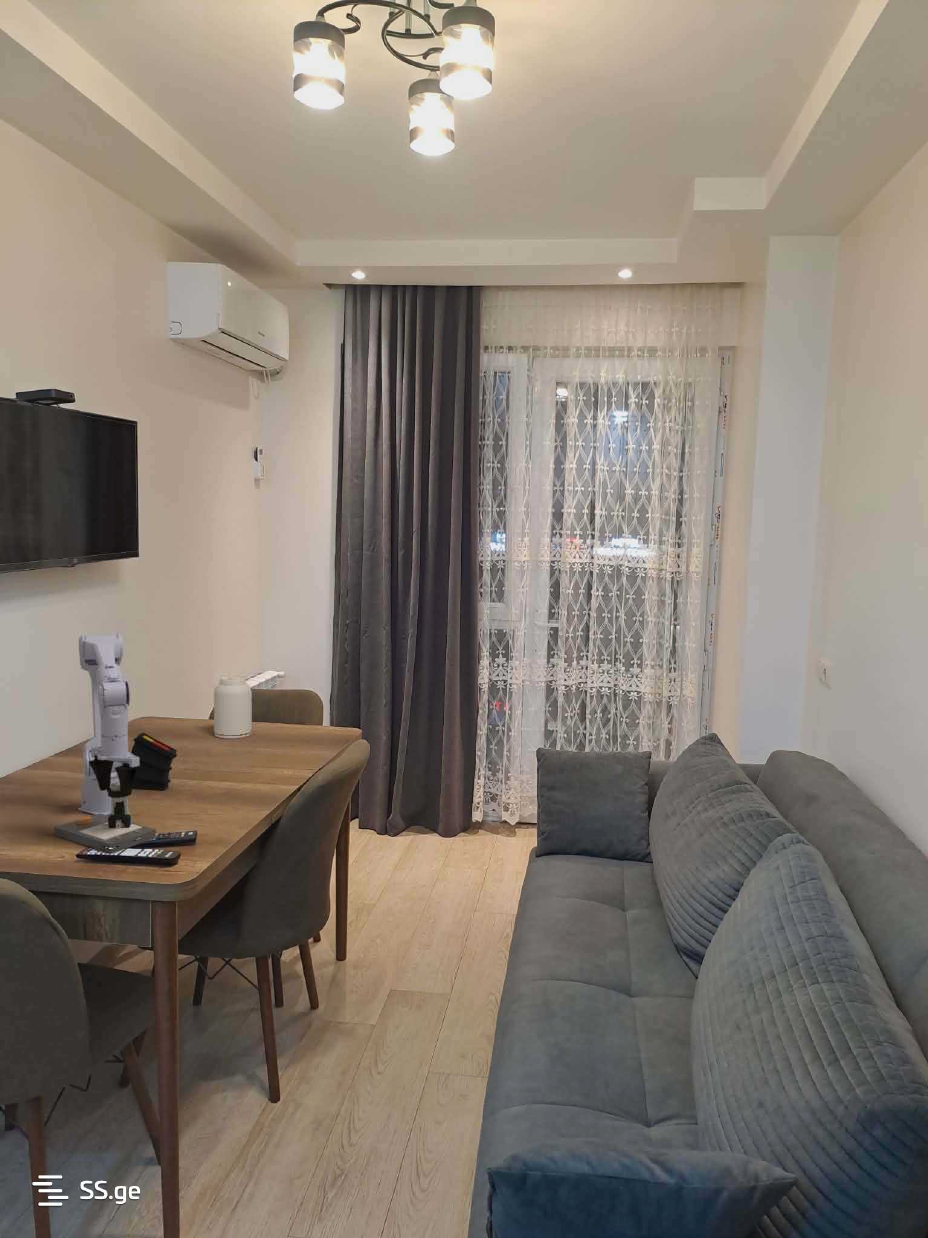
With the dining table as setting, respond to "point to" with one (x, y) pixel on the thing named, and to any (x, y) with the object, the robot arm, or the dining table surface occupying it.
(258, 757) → the dining table surface
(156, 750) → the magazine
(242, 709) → the white jar
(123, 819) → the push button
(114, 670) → the robot arm
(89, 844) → the control panel
